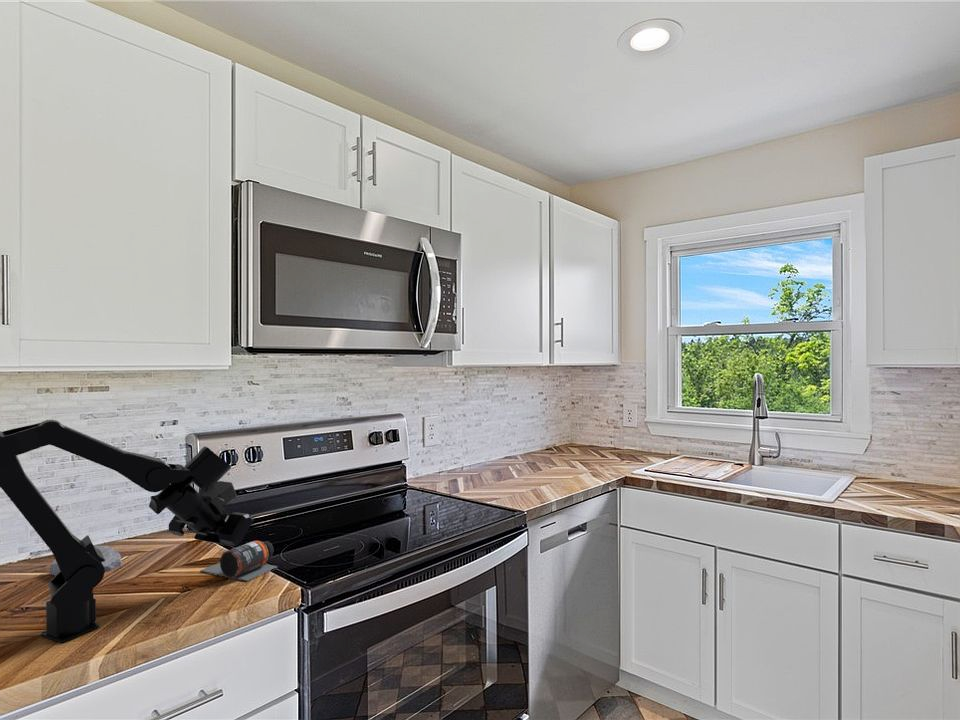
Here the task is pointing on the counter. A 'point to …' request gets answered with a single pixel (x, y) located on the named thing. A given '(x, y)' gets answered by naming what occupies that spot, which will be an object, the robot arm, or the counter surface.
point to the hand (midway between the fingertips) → (232, 544)
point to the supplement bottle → (245, 558)
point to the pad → (246, 576)
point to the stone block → (109, 564)
